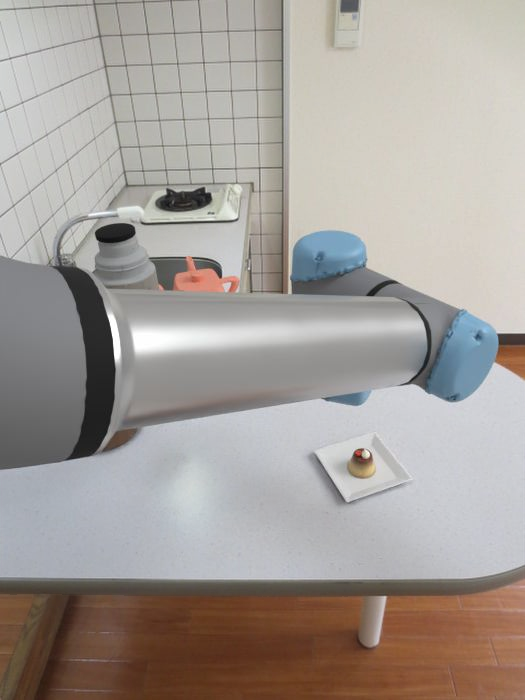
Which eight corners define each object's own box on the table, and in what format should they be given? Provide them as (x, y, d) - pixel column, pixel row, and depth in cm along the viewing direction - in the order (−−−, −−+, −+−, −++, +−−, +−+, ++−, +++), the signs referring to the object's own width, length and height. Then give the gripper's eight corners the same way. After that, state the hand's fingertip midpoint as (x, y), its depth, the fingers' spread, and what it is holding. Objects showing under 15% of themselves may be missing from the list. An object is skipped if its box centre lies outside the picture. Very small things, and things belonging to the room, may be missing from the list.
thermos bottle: (175, 382, 84) (145, 213, 68) (181, 414, 78) (149, 236, 62) (125, 391, 83) (83, 221, 67) (126, 424, 77) (80, 245, 61)
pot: (150, 325, 128) (141, 279, 121) (193, 294, 140) (187, 251, 133) (211, 345, 120) (205, 297, 113) (251, 311, 132) (249, 265, 125)
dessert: (313, 454, 90) (313, 434, 88) (374, 435, 94) (376, 415, 91) (346, 507, 81) (348, 486, 78) (413, 483, 84) (416, 462, 82)
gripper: (210, 421, 60) (61, 373, 68) (286, 331, 75) (155, 301, 83) (203, 368, 55) (45, 324, 64) (285, 284, 70) (147, 258, 79)
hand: (107, 311), depth 74 cm, fingers closed on thermos bottle, 8 cm apart
